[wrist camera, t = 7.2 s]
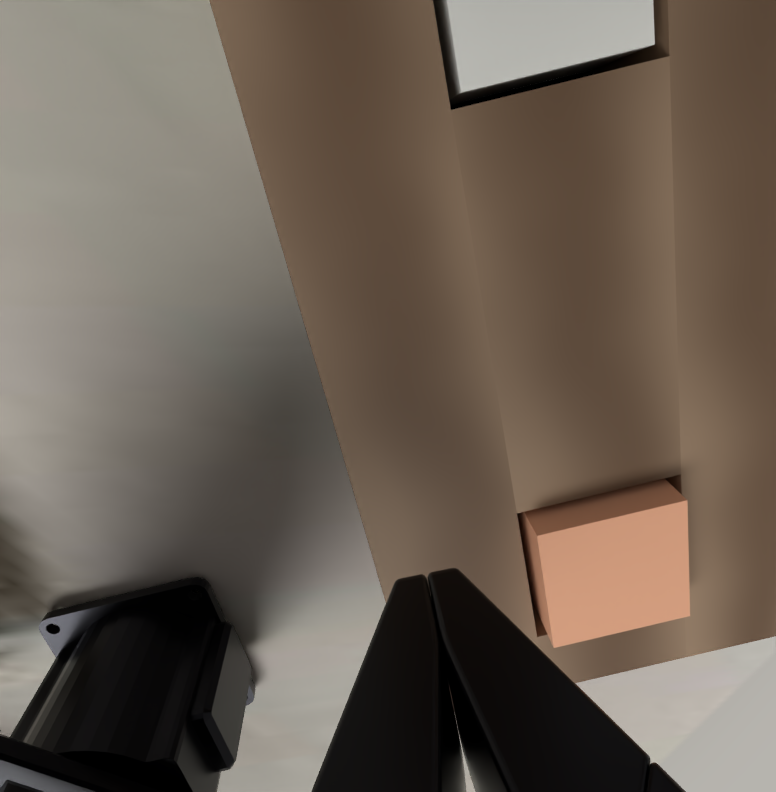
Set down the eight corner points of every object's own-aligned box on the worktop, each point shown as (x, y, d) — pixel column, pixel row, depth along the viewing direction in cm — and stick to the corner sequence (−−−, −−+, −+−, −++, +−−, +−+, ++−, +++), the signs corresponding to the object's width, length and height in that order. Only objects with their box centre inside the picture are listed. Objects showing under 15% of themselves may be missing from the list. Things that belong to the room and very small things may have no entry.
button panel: (407, 632, 23) (420, 719, 20) (181, -170, 13) (121, -300, 10) (737, 554, 23) (813, 627, 19) (753, -314, 13) (912, -503, 10)
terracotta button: (520, 574, 21) (553, 648, 18) (504, 474, 19) (536, 535, 16) (635, 547, 21) (690, 616, 18) (628, 445, 19) (687, 500, 16)
